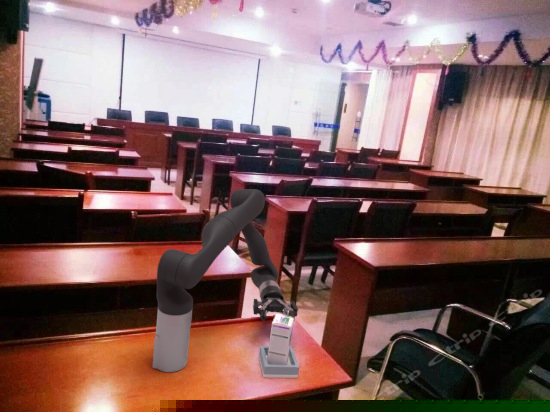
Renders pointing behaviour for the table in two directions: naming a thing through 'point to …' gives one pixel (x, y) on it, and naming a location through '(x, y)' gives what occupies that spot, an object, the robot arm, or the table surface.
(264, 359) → the collar plate
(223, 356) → the table surface
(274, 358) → the syrup box
